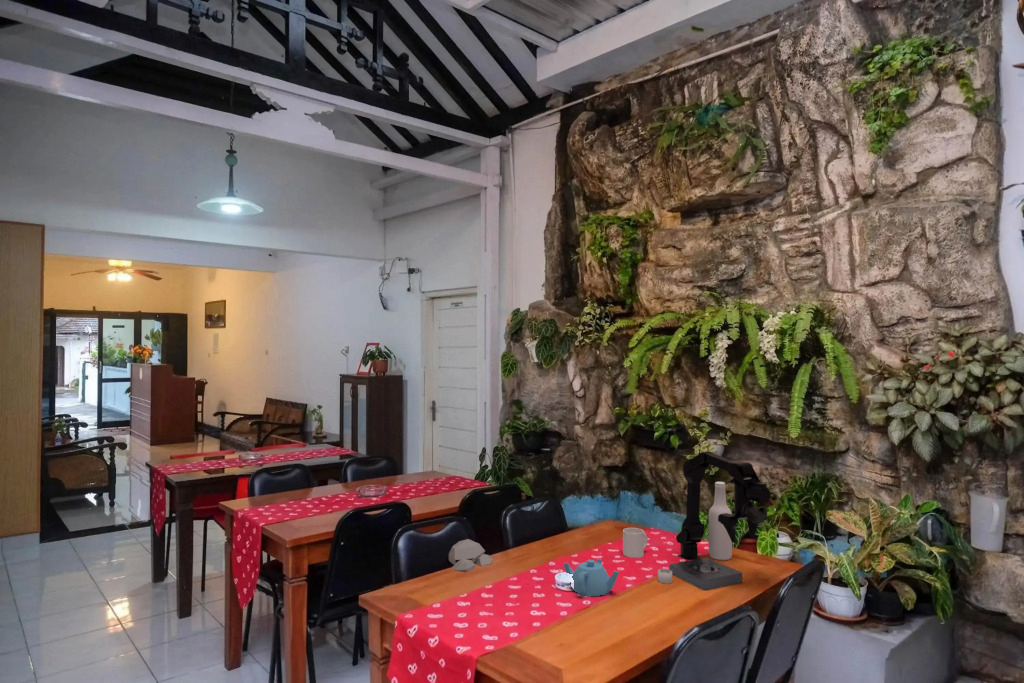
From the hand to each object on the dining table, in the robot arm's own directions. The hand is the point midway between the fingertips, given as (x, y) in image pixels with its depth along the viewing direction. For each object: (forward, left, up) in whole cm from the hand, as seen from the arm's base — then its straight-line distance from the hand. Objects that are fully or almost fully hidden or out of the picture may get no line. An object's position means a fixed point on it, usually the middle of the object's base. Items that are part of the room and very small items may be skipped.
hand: (742, 540), depth 226 cm
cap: (-10, -27, -14) cm, 32 cm away
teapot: (-15, -56, -14) cm, 59 cm away
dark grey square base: (-7, -11, -14) cm, 19 cm away
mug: (-39, -18, -14) cm, 45 cm away
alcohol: (-22, +11, -14) cm, 29 cm away
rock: (-55, -86, -15) cm, 103 cm away
